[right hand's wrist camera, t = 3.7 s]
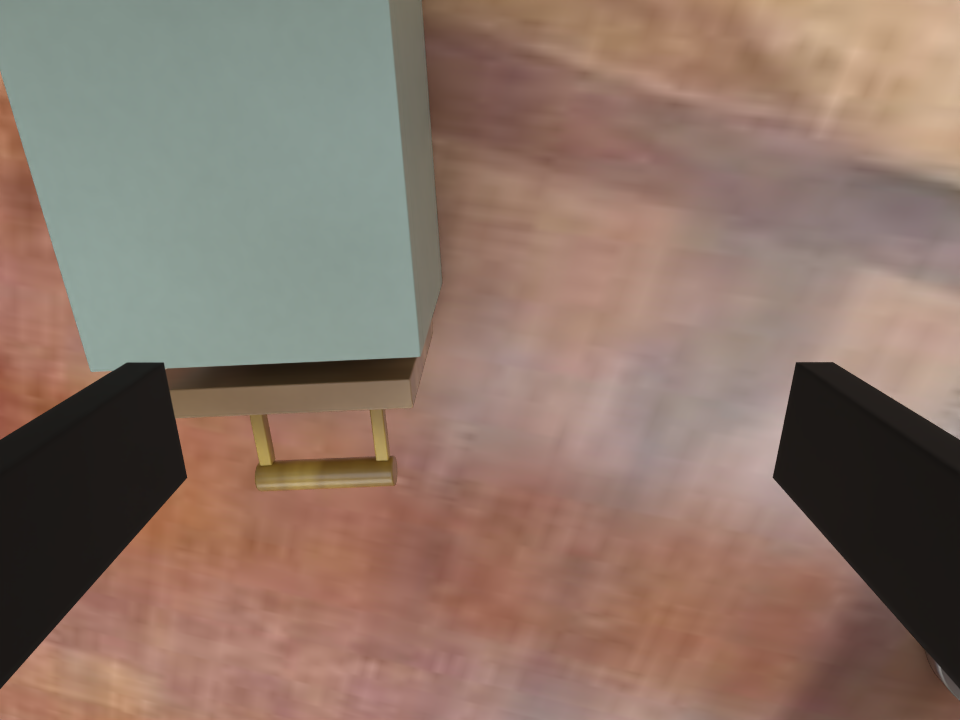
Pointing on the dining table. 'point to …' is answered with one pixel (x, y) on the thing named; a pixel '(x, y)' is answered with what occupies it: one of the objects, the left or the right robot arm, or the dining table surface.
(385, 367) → the drawer
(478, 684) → the dining table surface
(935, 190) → the dining table surface
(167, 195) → the cabinet
